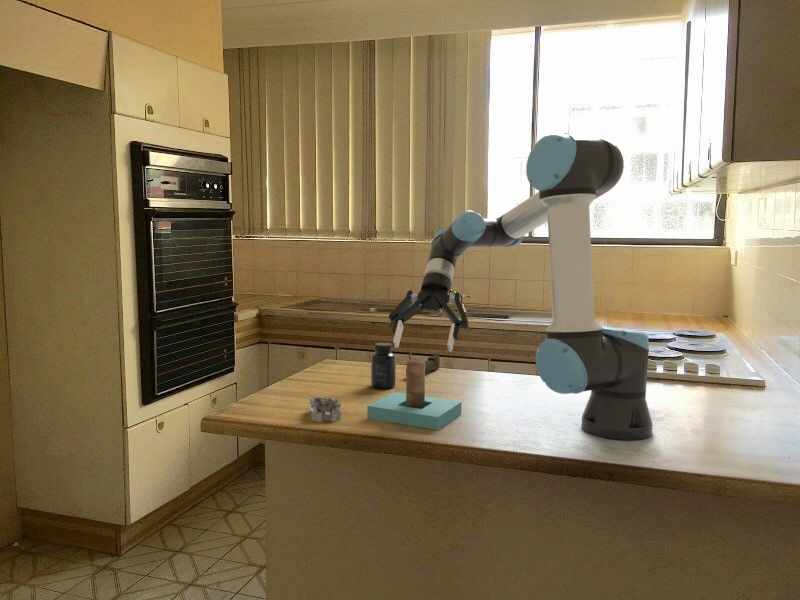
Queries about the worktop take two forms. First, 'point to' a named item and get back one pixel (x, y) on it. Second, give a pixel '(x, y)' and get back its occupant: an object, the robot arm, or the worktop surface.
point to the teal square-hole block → (414, 411)
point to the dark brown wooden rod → (432, 363)
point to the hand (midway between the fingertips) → (422, 346)
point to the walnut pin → (415, 384)
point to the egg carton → (325, 409)
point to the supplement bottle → (383, 367)
